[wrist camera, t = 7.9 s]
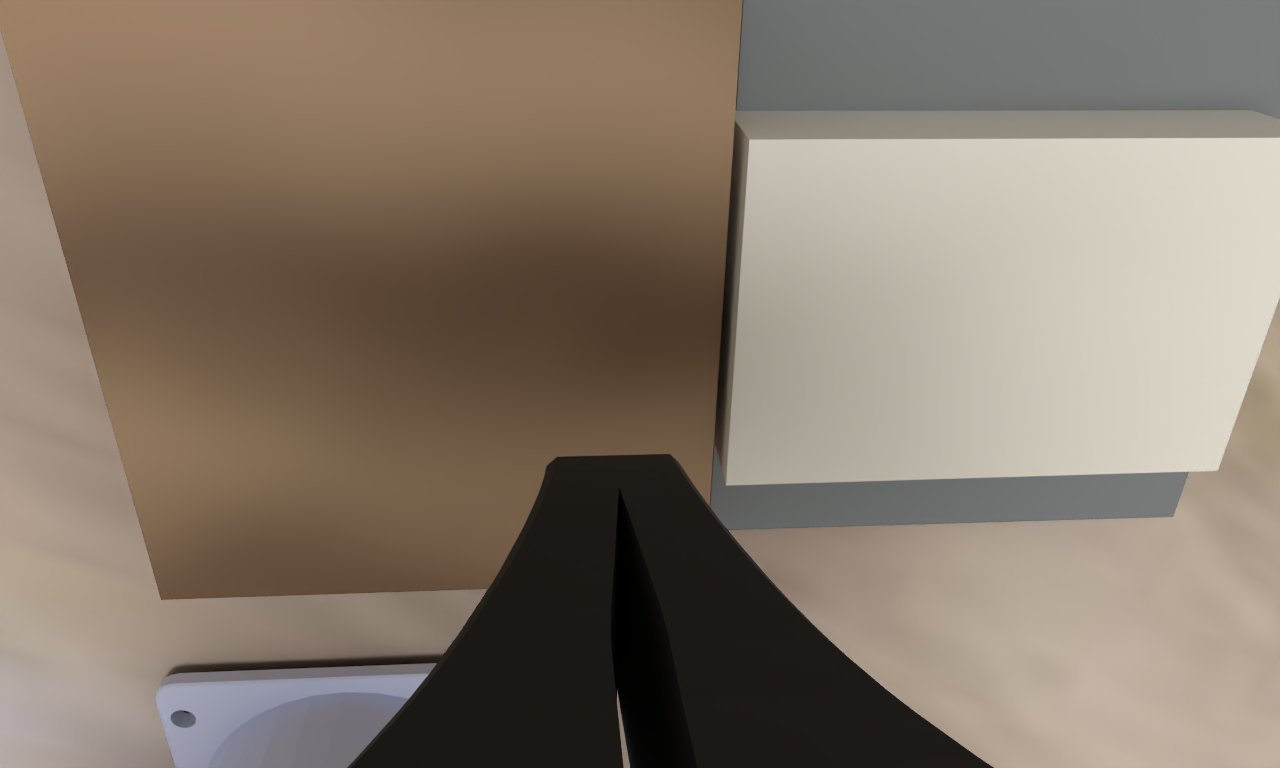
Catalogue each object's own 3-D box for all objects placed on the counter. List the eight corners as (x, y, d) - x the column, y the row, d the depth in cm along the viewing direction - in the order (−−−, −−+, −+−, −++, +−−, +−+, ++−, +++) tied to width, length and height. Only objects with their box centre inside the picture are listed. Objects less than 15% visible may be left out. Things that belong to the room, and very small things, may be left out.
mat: (1162, 505, 20) (1173, 516, 20) (706, 518, 20) (708, 530, 19) (1351, -52, 15) (1370, -50, 15) (743, -63, 14) (747, -62, 14)
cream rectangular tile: (1155, 415, 19) (1217, 471, 17) (709, 427, 18) (726, 485, 16) (1251, 110, 16) (1336, 137, 14) (727, 111, 15) (749, 139, 14)
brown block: (691, 519, 20) (704, 581, 18) (198, 533, 19) (161, 599, 17) (724, -64, 14) (746, -57, 13) (48, -76, 14) (-28, -70, 12)
